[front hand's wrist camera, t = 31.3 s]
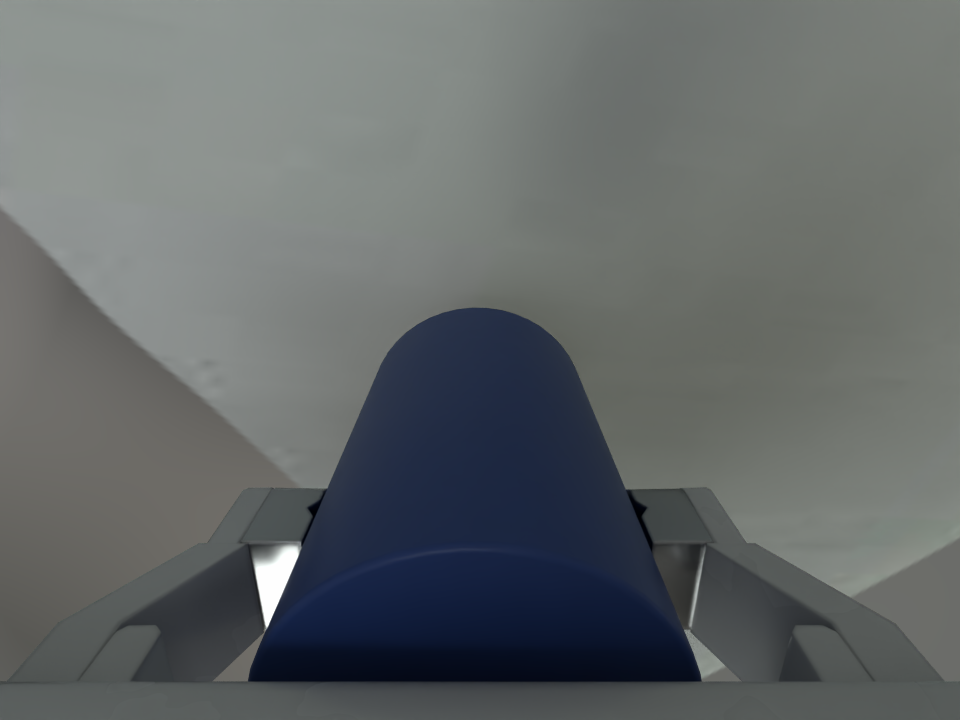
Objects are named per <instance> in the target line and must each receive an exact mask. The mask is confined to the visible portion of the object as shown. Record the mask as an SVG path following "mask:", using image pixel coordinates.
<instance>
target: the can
mask: <svg viewBox="0 0 960 720" xmlns="http://www.w3.org/2000/svg"><path fill="white" fill-rule="evenodd" d="M360 681H422V682H702V681H701V674H700V671H699V668H698V665H697V662H696V660H695V657H694V654H693V651H692V649H691V646H690V644H689V642H688V639H687V637H686V634H685V632H684V629H683V627H682V625H681V622H680V620H679V617H678V615H677V613H676V610H675V608H674V605H673V603H672V600H671V598H670V596H669V593H668V591H667V588H666V586H665V584H664V581H663V579H662V576H661V574H660V571H659V569H658V567H657V564H656V562H655V559H654V557H653V555H652V552H651V550H650V547H649V545H648V542H647V540H646V538H645V535H644V533H643V530H642V528H641V526H640V523H639V521H638V518H637V516H636V513H635V511H634V509H633V506H632V504H631V501H630V499H629V497H628V494H627V492H626V489H625V487H624V484H623V482H622V480H621V477H620V475H619V472H618V470H617V468H616V465H615V463H614V460H613V458H612V455H611V453H610V451H609V448H608V446H607V443H606V441H605V439H604V436H603V434H602V431H601V429H600V427H599V424H598V422H597V419H596V417H595V414H594V412H593V410H592V407H591V405H590V402H589V400H588V398H587V395H586V393H585V390H584V388H583V385H582V383H581V381H580V378H579V376H578V373H577V371H576V369H575V366H574V365H573V363H572V361H571V359H570V357H569V355H568V354H567V353H566V351H565V350H564V348H563V347H562V346H561V345H560V344H559V342H558V341H557V340H556V339H555V338H554V337H553V336H552V335H551V334H549V333H548V332H547V331H545V330H544V329H543V328H542V327H540V326H538V325H537V324H535V323H533V322H532V321H530V320H528V319H526V318H523V317H521V316H519V315H516V314H513V313H510V312H506V311H502V310H497V309H490V308H465V309H457V310H453V311H449V312H444V313H441V314H439V315H436V316H433V317H431V318H429V319H427V320H425V321H423V322H421V323H419V324H418V325H416V326H415V327H413V328H412V329H411V330H409V331H408V332H406V333H405V334H404V335H403V336H402V337H401V338H400V339H399V340H398V341H397V342H396V343H395V344H394V346H393V347H392V348H391V349H390V351H389V352H388V353H387V355H386V357H385V359H384V360H383V362H382V364H381V366H380V368H379V371H378V373H377V375H376V377H375V380H374V382H373V384H372V387H371V389H370V391H369V394H368V396H367V398H366V401H365V403H364V405H363V407H362V410H361V412H360V414H359V417H358V419H357V421H356V424H355V426H354V428H353V431H352V433H351V435H350V438H349V440H348V442H347V444H346V447H345V449H344V451H343V454H342V456H341V458H340V461H339V463H338V465H337V468H336V470H335V472H334V475H333V477H332V479H331V481H330V484H329V486H328V488H327V491H326V493H325V495H324V498H323V500H322V502H321V505H320V507H319V509H318V511H317V514H316V516H315V518H314V521H313V523H312V525H311V528H310V530H309V532H308V535H307V537H306V539H305V542H304V544H303V546H302V548H301V551H300V553H299V555H298V558H297V560H296V562H295V565H294V567H293V569H292V572H291V574H290V576H289V578H288V581H287V583H286V585H285V588H284V590H283V592H282V595H281V597H280V599H279V602H278V604H277V606H276V609H275V611H274V613H273V615H272V618H271V620H270V622H269V625H268V627H267V629H266V632H265V634H264V636H263V639H262V641H261V643H260V646H259V648H258V650H257V653H256V656H255V658H254V661H253V663H252V666H251V668H250V673H249V678H248V682H360Z"/></svg>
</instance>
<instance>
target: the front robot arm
mask: <svg viewBox="0 0 960 720" xmlns="http://www.w3.org/2000/svg"><path fill="white" fill-rule="evenodd" d="M326 491H327V489H309V488H247V489H245V490H243V491H242V493H241V494H240V496H239V497H238V499H237V500H236V501H235V503H234V504H233V506H232V507H231V509H230V510H229V512H228V513H227V515H226V516H225V518H224V519H223V521H222V522H221V524H220V525H219V527H218V528H217V530H216V531H215V533H214V534H213V535H212V537H211V538H210V540H209V541H208V543H198V544H197V545H195V546H193V547H191V548H190V549H188V550H186V551H184V552H182V553H181V554H179V555H177V556H175V557H174V558H172V559H170V560H168V561H167V562H165V563H163V564H161V565H160V566H158V567H156V568H154V569H152V570H151V571H149V572H147V573H145V574H144V575H142V576H140V577H138V578H136V579H135V580H133V581H131V582H129V583H128V584H126V585H124V586H122V587H121V588H119V589H117V590H115V591H114V592H112V593H110V594H108V595H106V596H105V597H103V598H101V599H99V600H98V601H96V602H94V603H92V604H90V605H89V606H87V607H85V608H83V609H82V610H80V611H78V612H76V613H75V614H73V615H71V616H69V617H67V618H66V619H64V620H62V621H60V622H59V623H57V625H56V626H55V627H54V628H53V629H52V630H51V631H50V633H49V634H48V635H47V636H46V637H45V638H44V639H43V641H42V642H41V643H40V644H39V645H38V646H37V647H36V649H35V650H34V651H33V652H32V653H31V654H30V656H29V657H28V658H27V659H26V660H25V661H24V662H23V663H22V665H21V666H20V667H19V668H18V669H17V670H16V671H15V673H14V674H13V675H12V676H11V677H10V678H9V679H8V681H0V720H960V682H945V681H944V680H943V679H942V677H941V676H940V675H939V674H938V673H937V672H936V670H935V669H934V668H933V667H932V666H931V665H930V663H929V662H928V661H927V660H926V659H925V657H924V656H923V655H922V654H921V653H920V652H919V650H918V649H917V648H916V647H915V646H914V645H913V643H912V642H911V641H910V640H909V639H908V638H907V636H906V635H905V634H904V633H903V632H902V631H901V629H900V628H899V627H898V626H897V625H896V624H895V623H894V622H892V621H890V620H888V619H887V618H885V617H883V616H881V615H880V614H878V613H876V612H874V611H873V610H871V609H869V608H867V607H866V606H864V605H862V604H860V603H859V602H857V601H855V600H853V599H852V598H850V597H848V596H846V595H845V594H843V593H841V592H839V591H838V590H836V589H834V588H832V587H831V586H829V585H827V584H825V583H824V582H822V581H820V580H818V579H817V578H815V577H813V576H811V575H810V574H808V573H806V572H804V571H803V570H801V569H799V568H797V567H796V566H794V565H792V564H790V563H789V562H787V561H785V560H783V559H782V558H780V557H778V556H777V555H775V554H773V553H771V552H770V551H768V550H766V549H764V548H763V547H761V546H759V545H757V544H756V543H746V541H745V540H744V538H743V537H742V535H741V534H740V532H739V531H738V529H737V528H736V526H735V525H734V523H733V522H732V520H731V519H730V517H729V516H728V515H727V513H726V512H725V510H724V509H723V507H722V506H721V504H720V503H719V501H718V500H717V498H716V497H715V495H714V494H713V492H712V491H711V490H710V489H708V488H707V487H701V488H680V489H633V490H626V492H627V494H628V497H629V499H630V501H631V504H632V506H633V509H634V511H635V513H636V516H637V518H638V521H639V523H640V526H641V528H642V530H643V533H644V535H645V538H646V540H647V542H648V545H649V547H650V550H651V552H652V555H653V557H654V559H655V562H656V564H657V567H658V569H659V571H660V574H661V576H662V579H663V581H664V584H665V586H666V588H667V591H668V593H669V596H670V598H671V600H672V603H673V605H674V608H675V610H676V613H677V615H678V617H679V620H680V622H681V625H682V627H683V629H685V630H691V633H692V634H693V635H694V636H695V637H696V638H697V639H698V640H699V641H700V642H702V643H703V644H704V645H705V646H706V647H707V648H708V649H709V650H710V651H711V652H712V653H713V654H714V655H715V656H716V657H717V658H718V659H719V660H720V661H721V662H722V663H723V664H724V665H725V666H726V667H728V668H729V669H730V670H731V671H732V672H733V673H734V674H735V675H736V676H737V677H738V678H739V679H740V680H741V681H742V682H422V681H360V682H212V681H213V680H214V679H215V678H216V677H217V676H218V675H219V674H220V673H221V672H222V671H224V670H225V669H226V668H227V667H228V666H229V665H230V664H231V663H232V662H233V661H234V660H235V659H236V658H237V657H238V656H239V655H240V654H241V653H243V652H244V651H245V650H246V649H247V648H248V647H249V646H250V645H251V644H252V643H253V642H254V641H255V640H256V639H257V638H258V637H259V636H260V635H262V634H263V633H264V631H263V630H266V629H267V627H268V625H269V622H270V620H271V618H272V615H273V613H274V611H275V609H276V606H277V604H278V602H279V599H280V597H281V595H282V592H283V590H284V588H285V585H286V583H287V581H288V578H289V576H290V574H291V572H292V569H293V567H294V565H295V562H296V560H297V558H298V555H299V553H300V551H301V548H302V546H303V544H304V542H305V539H306V537H307V535H308V532H309V530H310V528H311V525H312V523H313V521H314V518H315V516H316V514H317V511H318V509H319V507H320V505H321V502H322V500H323V498H324V495H325V493H326Z"/></svg>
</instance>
